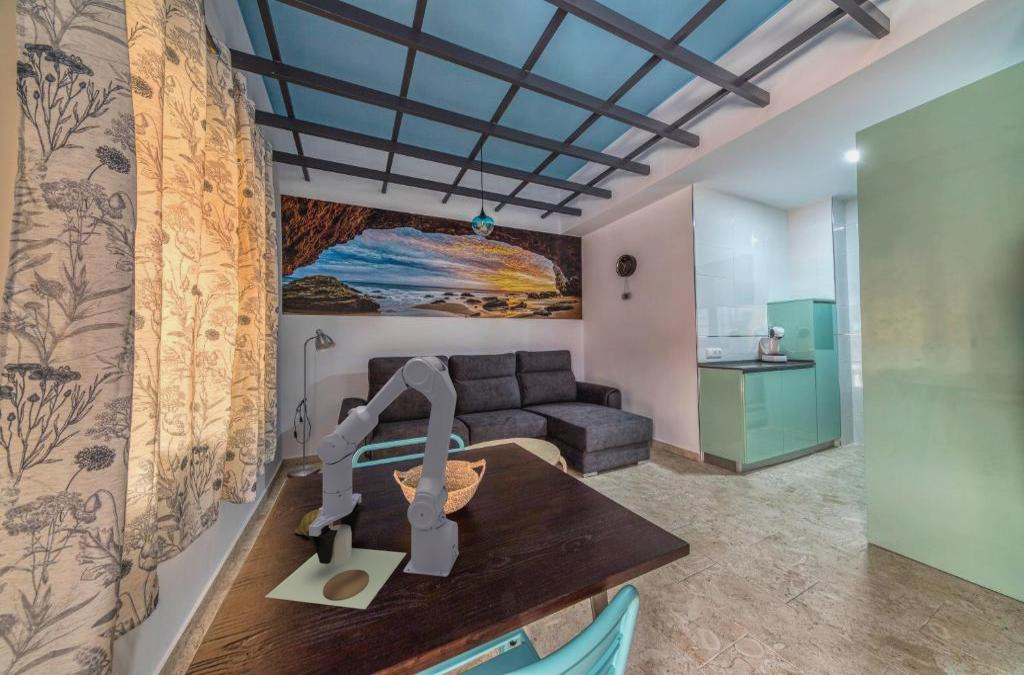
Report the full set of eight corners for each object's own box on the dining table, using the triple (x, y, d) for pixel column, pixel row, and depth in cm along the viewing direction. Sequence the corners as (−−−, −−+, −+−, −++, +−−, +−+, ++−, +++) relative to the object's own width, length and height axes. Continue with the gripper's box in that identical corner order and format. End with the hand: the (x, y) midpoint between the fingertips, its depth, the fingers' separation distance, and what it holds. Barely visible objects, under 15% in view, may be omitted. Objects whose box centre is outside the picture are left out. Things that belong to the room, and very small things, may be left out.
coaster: (377, 572, 69) (377, 571, 69) (352, 602, 61) (352, 601, 61) (341, 569, 70) (341, 567, 70) (312, 598, 62) (312, 596, 62)
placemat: (406, 554, 75) (406, 553, 75) (365, 611, 59) (365, 609, 59) (325, 547, 78) (325, 545, 78) (264, 599, 62) (264, 596, 62)
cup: (355, 552, 75) (355, 525, 75) (340, 567, 70) (340, 538, 70) (334, 550, 76) (334, 523, 76) (317, 565, 71) (318, 536, 71)
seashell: (299, 551, 83) (281, 539, 78) (306, 522, 89) (291, 508, 84) (339, 542, 84) (325, 528, 79) (344, 513, 89) (331, 499, 84)
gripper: (342, 474, 81) (342, 531, 81) (295, 502, 67) (294, 571, 67) (369, 475, 80) (369, 533, 80) (327, 504, 66) (327, 575, 66)
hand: (337, 551), depth 73 cm, fingers open, 7 cm apart
